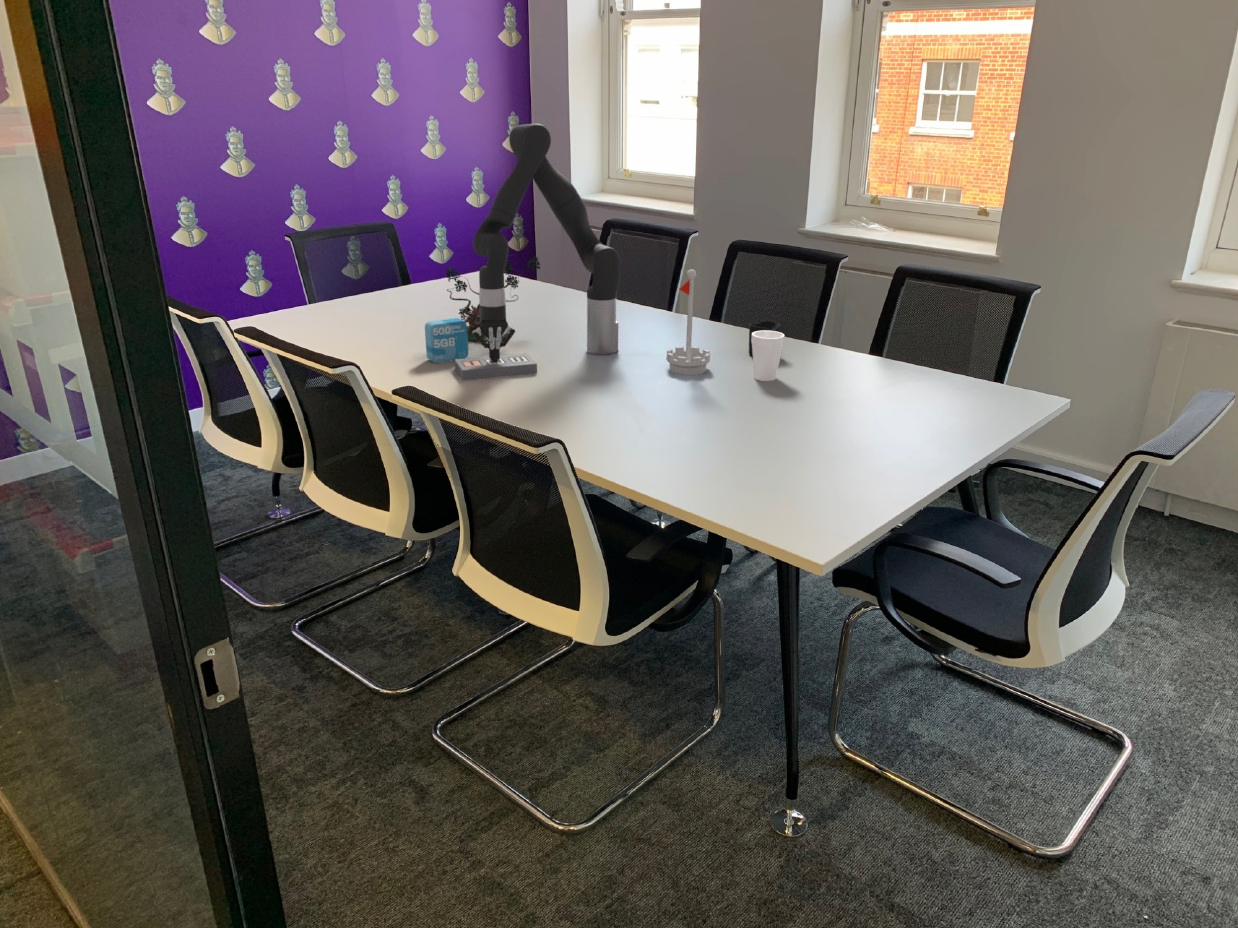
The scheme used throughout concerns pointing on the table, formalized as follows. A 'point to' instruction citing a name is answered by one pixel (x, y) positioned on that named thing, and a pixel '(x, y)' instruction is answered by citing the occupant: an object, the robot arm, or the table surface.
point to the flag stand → (688, 341)
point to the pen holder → (759, 327)
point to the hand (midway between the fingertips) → (494, 360)
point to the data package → (446, 340)
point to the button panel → (495, 367)
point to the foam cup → (766, 353)
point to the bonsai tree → (475, 314)
